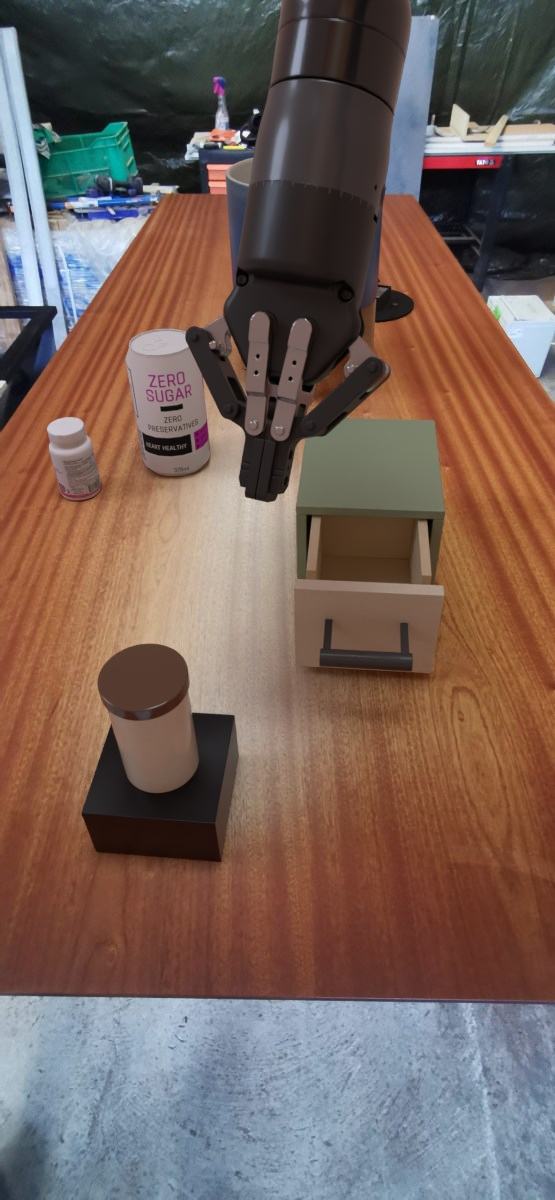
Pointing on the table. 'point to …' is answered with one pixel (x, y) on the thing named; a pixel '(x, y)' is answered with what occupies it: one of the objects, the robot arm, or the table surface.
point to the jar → (151, 715)
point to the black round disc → (391, 304)
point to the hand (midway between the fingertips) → (261, 499)
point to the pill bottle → (73, 459)
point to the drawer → (367, 596)
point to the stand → (166, 800)
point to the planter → (236, 204)
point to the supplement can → (168, 402)
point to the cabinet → (372, 478)
